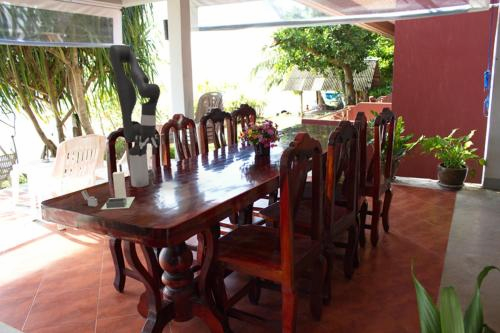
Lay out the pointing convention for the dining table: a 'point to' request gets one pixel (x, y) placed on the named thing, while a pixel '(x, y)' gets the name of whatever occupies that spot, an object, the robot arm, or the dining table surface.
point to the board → (118, 203)
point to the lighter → (89, 199)
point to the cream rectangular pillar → (119, 184)
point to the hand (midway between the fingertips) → (147, 155)
